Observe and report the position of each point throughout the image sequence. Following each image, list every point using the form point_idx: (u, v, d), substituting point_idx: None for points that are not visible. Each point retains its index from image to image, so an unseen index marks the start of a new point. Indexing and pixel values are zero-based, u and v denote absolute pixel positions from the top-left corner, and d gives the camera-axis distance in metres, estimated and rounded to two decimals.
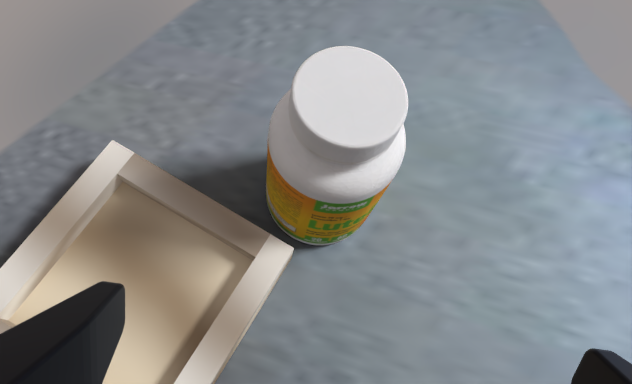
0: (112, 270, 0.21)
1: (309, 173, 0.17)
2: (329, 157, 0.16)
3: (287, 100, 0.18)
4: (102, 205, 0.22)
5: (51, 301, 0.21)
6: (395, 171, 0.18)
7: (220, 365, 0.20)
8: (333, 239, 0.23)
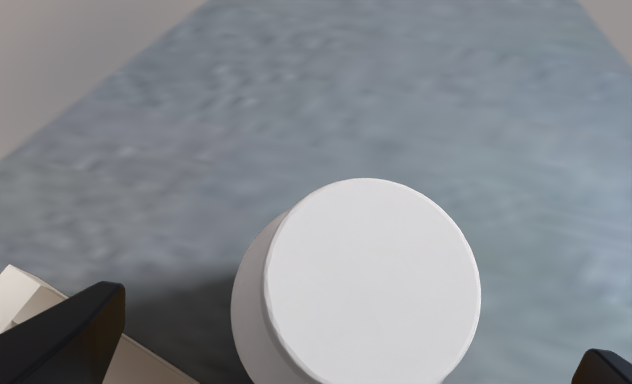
0: None
1: None
2: None
3: (262, 251, 0.11)
4: None
5: None
6: None
7: None
8: None
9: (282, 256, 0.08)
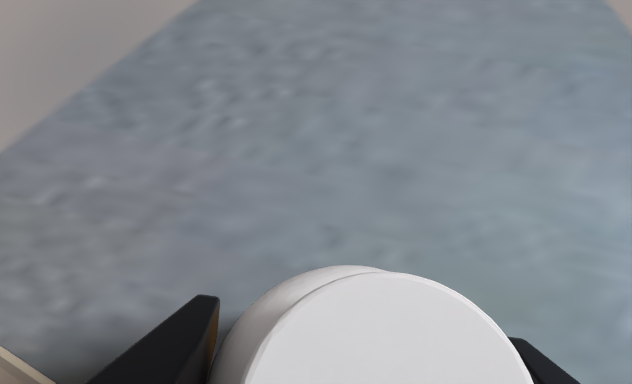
0: None
1: None
2: None
3: (241, 351, 0.08)
4: None
5: None
6: None
7: None
8: None
9: None
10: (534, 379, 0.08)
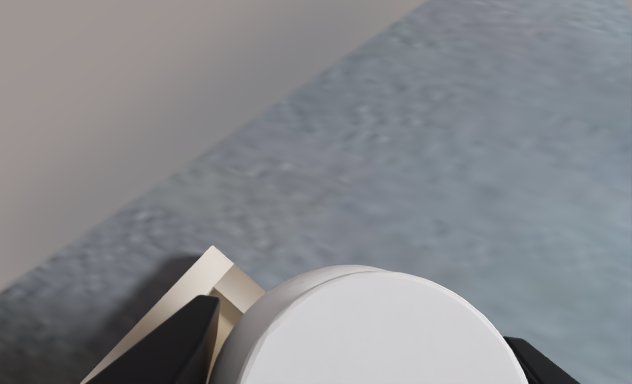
0: None
1: None
2: None
3: (241, 350, 0.08)
4: None
5: None
6: None
7: None
8: None
9: None
10: (533, 379, 0.08)
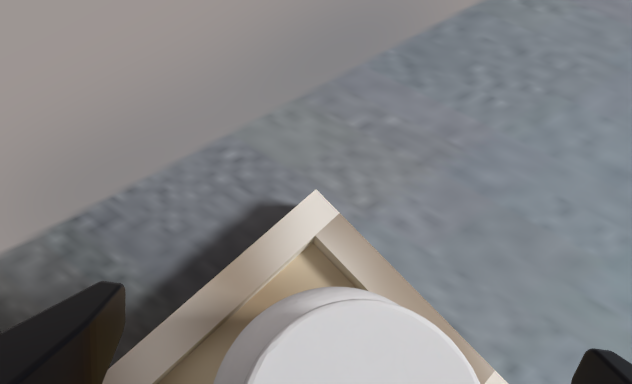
0: None
1: None
2: None
3: (241, 363, 0.09)
4: (283, 268, 0.18)
5: (202, 381, 0.16)
6: None
7: None
8: None
9: None
10: None
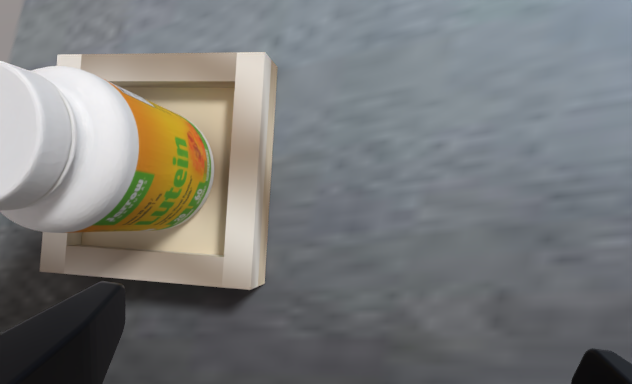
0: None
1: (49, 218, 0.14)
2: (26, 203, 0.13)
3: None
4: None
5: None
6: (125, 135, 0.15)
7: (255, 188, 0.20)
8: (194, 203, 0.20)
9: None
10: None
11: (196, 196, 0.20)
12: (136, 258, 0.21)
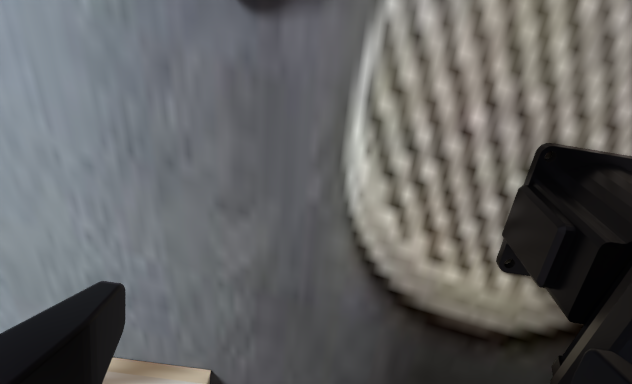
0: None
1: None
2: None
3: None
4: None
5: None
6: None
7: None
8: None
9: None
10: None
11: None
12: None
